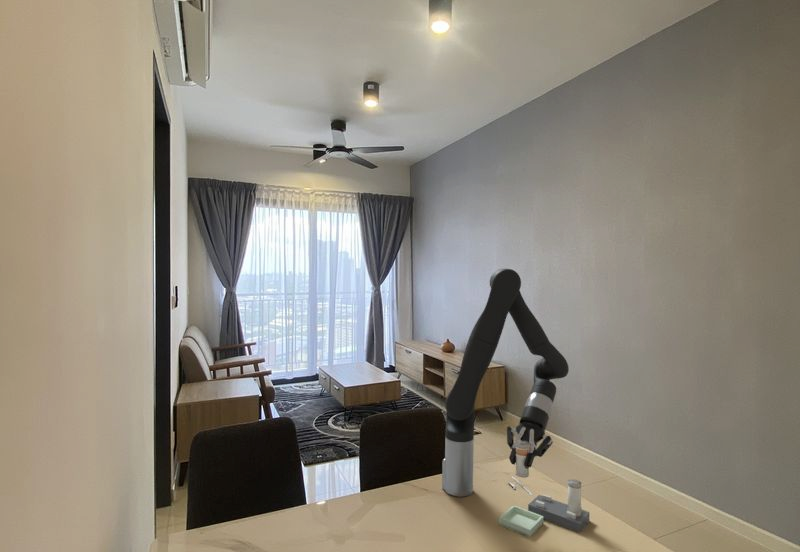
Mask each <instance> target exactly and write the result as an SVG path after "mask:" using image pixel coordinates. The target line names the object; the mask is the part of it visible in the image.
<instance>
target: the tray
mask: <svg viewBox="0 0 800 552" xmlns="http://www.w3.org/2000/svg"><path fill="white" fill-rule="evenodd" d="M544 520H545V519H544V516H541V515H538V514H536V513H533V512H530V511H528V509H525V508H523V507H519V506H516V505H514V504H513V505H512V506H511V507H509V508H508V509H507V510H506V511H505V512H503V514H501V515H500V516H499V517H498V526H501V527H504V528H506V529H508V530H511V531H513V532H515V533H518V534H519V535H523V536H525V537H527V538H531V537H532V536H533V535H534V534H535V533H536V532H537V531H538V530H539V529H540V527H542V526H543V525H544Z"/></svg>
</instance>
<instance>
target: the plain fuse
mask: <svg viewBox="0 0 800 552" xmlns="http://www.w3.org/2000/svg"><path fill="white" fill-rule="evenodd" d="M567 505H568V509H567V511H569V512H572V513H575V514H576V517H580V516H581V507H582V482H581V481H580V480H579V479H578V480H577V479H573V478H572V479H568V480H567Z"/></svg>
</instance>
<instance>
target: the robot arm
mask: <svg viewBox="0 0 800 552" xmlns="http://www.w3.org/2000/svg"><path fill="white" fill-rule="evenodd" d="M489 287H490V291H489V295H488V299H487V302H486V304H485V307H484V309H483V311H482V312H481V314H480V315H479V317H478V319H477V321H476V322H475V324H474V326H473V328H472V330H471V333H470V335H469V337H468V340H467V342H466V345H465V349H464V352H463V356H462V360H461V364H460V367H459V371H458V372H459V373H458V375H457V378H456V380H455V381H454V385H453V386H452V388H451V389H450V390H449V392H448V393H447V396H446V399H445V404H444V407H445V410H446V421H445V422H446V423H445V441H444V442H445V445H444V447H445V448H444V458H443V459H442V462H441V463H442V464H441V465H442V467H441V468H442V472H441V473H442V475H441V476H442V478H441V489H442V490H444V491H445V493H447V494H449V495H452V496H455V497H461V498H462V497H469V496H470V495H472V494H473V492H474V444H475V443H474V438H475V437H474V436H475V435H474V433H475V406H476V405H475V403H476V400H477V399H476V398H477V395H478V391H479V388H480V385H481V383H482V380H483V378H484V376H485V374H486V372H487V371H488V369H489V366H490V364H491V362H492V360H493V358H494V355H495V352H496V349H497V347H498V346H499V343H500V339H501V336H502V333H503V330H504V327H505V323H506V320H507V316H508V315H510V316H511V318H512V320H513V322H514V324H515V325H516V328H517V330H518V332H519V333H520V336H521V338H522V340H523V341H524V343H525V344H526V346H527V349H528V350H529V352H530V353H531V354H532V355H534V356H538V357H542V358H539V359H538V360H537V361H536V363H535V364H534V368H533V385H532V388H531V390H530V393H529V396H528V398H527V400H526V402H525V404H524V408H523V410H522V413H521V416H520V419H519V422H518V424H517V425H516V427H511V426H509V425H508V426H507V427H506V440H507V441H506V443H507V445H508V447H509V449H511V451H510V454H509V461H510V463H511V464H512V465H515V466H516V441H526V442H528V443H529V453H528V454H527V456H526V459H525V463H524V466H525V468H527V469H529V468H532V466H533V463H534V459H535V458H536V457H539V458H541V457H543V456H544V454H545V453H546V452H547V451H548V449H549V448H550V447H551V446H552V444H553V443H554V441H553V439H552V437H551V436H550V435H547V434H546V429H547V426H548V423H549V420H550V417H551V414H552V409H553V404H554V401H555V397H556V393H557V387H556V386H557V385H555V384H554V382H552V381H550V380H558V379H564V378H565V377H566V376H568V374H569V364H568V361H567V360H566V358H565V357H564V355H563V354H562V353H561V352H560V351H559V350H558V348H556V346H554V345H553V344H552V342H551V341H550V340H549V338H548V336H547V334H546V333H545V331H544V329H543V327H542V325H541V324H540V322H539V321H538V320H537V318H536V317H535V315H534V314H533V312H532V311H531V309H530V307H528V305H527V303H526V302H525V299H524V298H523V295H522V293H521V291H520V289H521V287H522V279H521V277H520V275H519V273H518V272H517V271H515V270H514V269H511V268H499V269H496V270H495V271H494V272H493V273H492V274H491V276H490V279H489ZM516 433H517V435H516ZM515 435H516V437H515ZM514 437H515V439H514ZM540 441H542V442H541V443H539V442H540ZM538 443H539V445H538Z"/></svg>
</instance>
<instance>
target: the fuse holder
mask: <svg viewBox="0 0 800 552" xmlns="http://www.w3.org/2000/svg"><path fill="white" fill-rule="evenodd" d="M528 503H529V504H528V506H527V510H528V511H530V512H533V513H536V514H538V515H541V516H544V520H545V521H548V522H550V523H554V524H556V525H558V526H559V525H560V526H561V527H565V528H566V529H569V530H573V532H574V531H575V532H577V533H580V534H581V533H582V531H583V530H584V529H585V527H586V526H587V525H588V523H589V522H590V511H587V510H584V509H583V507H582V506H581V516H580V517H576V514H575V513H572V512H569V511H567V509H568V503H564V502H561V501H558V500H555V499H554V498H553V499H552V496H551V495H547V494H545V493H542V495H540V494H538V495H537V496H535V498H534V499H533V500H532V501H530V502H528Z"/></svg>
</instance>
